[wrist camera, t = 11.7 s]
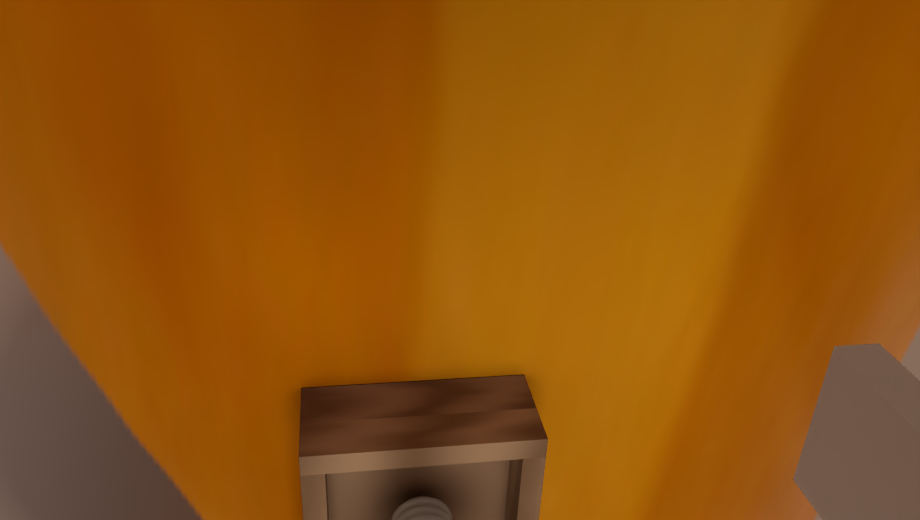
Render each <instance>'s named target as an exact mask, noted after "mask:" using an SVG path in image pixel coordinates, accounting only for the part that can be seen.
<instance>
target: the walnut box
mask: <svg viewBox="0 0 920 520" xmlns="http://www.w3.org/2000/svg"><path fill="white" fill-rule="evenodd" d="M547 442H548V438H547V435H546V433H545V430H544V427H543V425H542V422H541V419H540V417H539V414H538V411H537V409H536V406H535V403H534V400H533V398H532V395H531V392H530V390H529V387H528V384H527V382H526V379H525V376H524V375H513V376H497V377H480V378H463V379H446V380H430V381H413V382H396V383H379V384H363V385H346V386H329V387H312V388H301V413H300V440H299V466H300V480H301V494H302V507H303V520H391V519H392V516H393V514H394V512H395V510H396V509H397V508H398V507H399V506H400V505H402V504H403V503H404V502H406V501H408V500H409V499H411V498H414V497H417V496H427V497H431V498H436V499H438V500H440V501H442V502H444V503H445V504H446V505H447V506H448V508H449V510H450V512H451V515H452V520H539V512H540V503H541V494H542V486H543V477H544V468H545V460H546V451H547Z"/></svg>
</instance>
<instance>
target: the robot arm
mask: <svg viewBox="0 0 920 520" xmlns="http://www.w3.org/2000/svg"><path fill="white" fill-rule="evenodd" d="M793 480H794V481H795V483H796V484H797V486H798V487H799V488H800V490H801V491H802V492H803V494H804V495H805V497H806V498H807V499H808V501H809V502H810V503H811V505H812V506H813V508H814V509H815V510H816V512H817V513H818V514H819V516H820V517H821V518H822V520H920V381H919V380H918V379H917V378H916V377H915V376H914V375H913V374H912V373H910V372H909V371H908V370H907V369H906V368H905V367H904V366H903V365H902V364H901V363H900V362H899V361H898V360H896V359H895V358H894V357H893V356H892V355H891V354H890V353H889V352H888V351H887V350H886V349H884V348H883V347H882V346H881V345H880V344H864V345H847V346H834V349H833V353H832V356H831V359H830V362H829V366H828V369H827V372H826V375H825V379H824V382H823V385H822V388H821V392H820V395H819V398H818V401H817V404H816V408H815V411H814V414H813V417H812V421H811V424H810V427H809V430H808V434H807V437H806V440H805V443H804V447H803V450H802V453H801V456H800V460H799V463H798V466H797V469H796V473H795V476H794V479H793Z"/></svg>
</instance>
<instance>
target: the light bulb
mask: <svg viewBox="0 0 920 520" xmlns="http://www.w3.org/2000/svg"><path fill="white" fill-rule="evenodd" d="M391 520H452V515H451V512H450V510H449V508H448V506H447V505H446V504H445V503H444V502H442V501H440V500H438V499H436V498H431V497H427V496H417V497H414V498H411V499H409V500H408V501H406V502H404V503H403V504H402V505H400V506H399V507H398V508H397V509H396V510H395V512H394V514H393V516H392V519H391Z"/></svg>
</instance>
